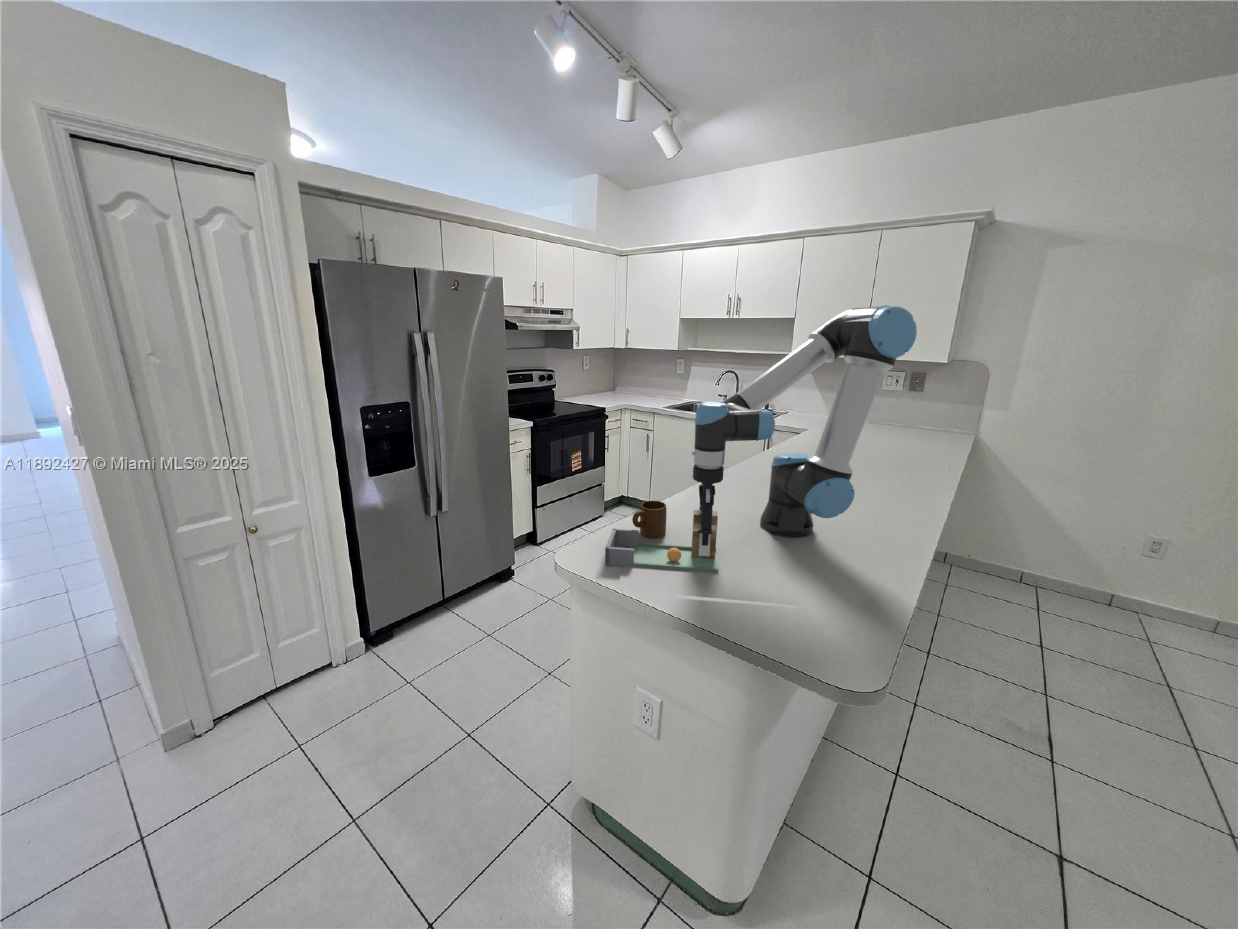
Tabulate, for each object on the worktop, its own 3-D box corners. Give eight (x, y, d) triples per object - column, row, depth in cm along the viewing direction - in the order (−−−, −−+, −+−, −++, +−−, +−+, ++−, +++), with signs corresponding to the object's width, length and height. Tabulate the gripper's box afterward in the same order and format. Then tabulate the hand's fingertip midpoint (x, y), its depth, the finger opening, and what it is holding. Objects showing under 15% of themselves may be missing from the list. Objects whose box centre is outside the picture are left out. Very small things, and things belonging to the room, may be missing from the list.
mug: (642, 547, 128) (643, 516, 125) (623, 538, 133) (623, 508, 130) (671, 535, 136) (672, 505, 133) (652, 527, 141) (652, 498, 138)
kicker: (714, 552, 124) (717, 510, 120) (715, 559, 120) (718, 516, 117) (691, 550, 125) (693, 509, 121) (691, 557, 121) (693, 514, 118)
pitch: (715, 552, 125) (716, 535, 124) (718, 574, 114) (719, 556, 112) (612, 545, 129) (612, 528, 128) (605, 566, 118) (605, 548, 116)
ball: (681, 558, 121) (681, 545, 120) (680, 565, 117) (681, 552, 116) (667, 557, 121) (667, 544, 120) (666, 563, 118) (667, 551, 117)
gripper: (693, 453, 126) (689, 528, 133) (693, 477, 106) (688, 565, 112) (721, 454, 125) (715, 530, 132) (727, 479, 105) (720, 568, 111)
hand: (703, 546), depth 122 cm, fingers open, 9 cm apart
